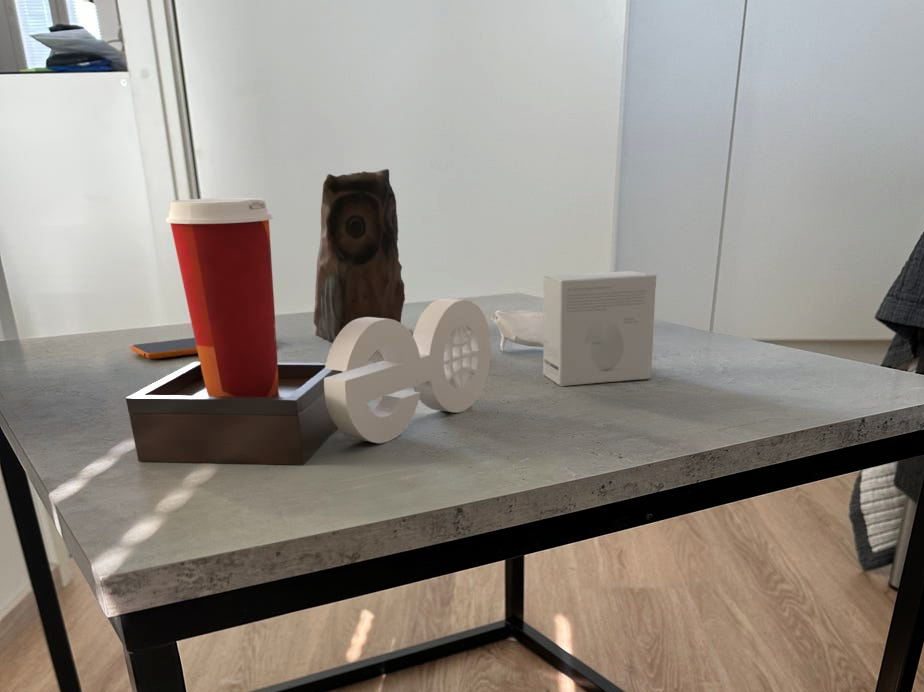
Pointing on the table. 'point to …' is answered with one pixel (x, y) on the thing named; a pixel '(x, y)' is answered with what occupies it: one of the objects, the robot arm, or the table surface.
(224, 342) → the coffee cup
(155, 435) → the dark brown tray
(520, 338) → the pale pink animal figure
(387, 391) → the letter
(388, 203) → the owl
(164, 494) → the table surface
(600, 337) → the cosmetics box
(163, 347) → the smartphone
